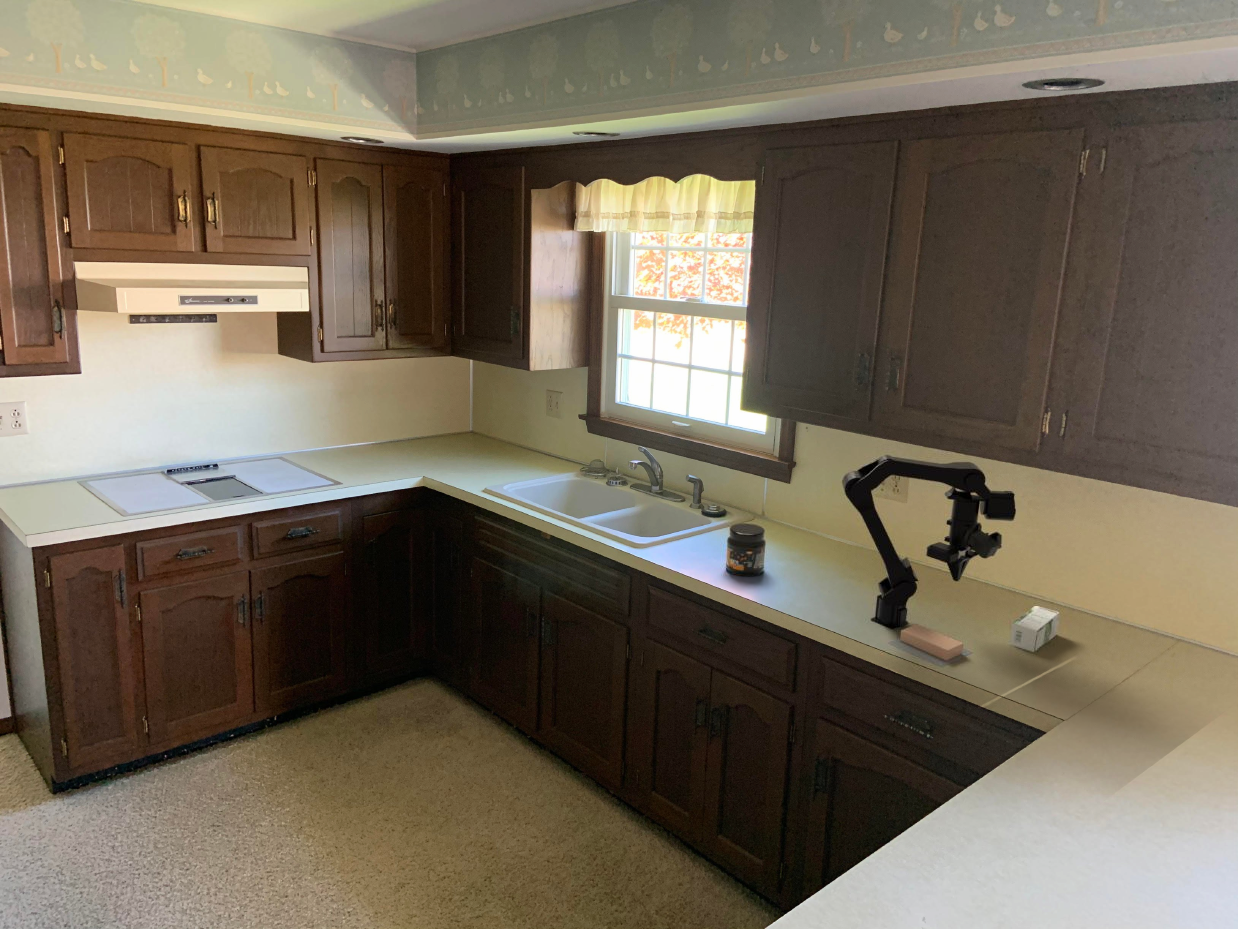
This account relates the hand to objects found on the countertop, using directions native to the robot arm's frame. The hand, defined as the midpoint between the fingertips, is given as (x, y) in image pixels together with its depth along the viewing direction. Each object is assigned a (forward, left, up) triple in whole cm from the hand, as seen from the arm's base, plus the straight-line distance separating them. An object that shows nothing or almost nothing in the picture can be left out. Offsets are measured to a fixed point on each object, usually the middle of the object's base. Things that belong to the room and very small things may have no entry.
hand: (956, 580), depth 212 cm
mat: (+4, -14, -12) cm, 19 cm away
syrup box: (+16, +3, -9) cm, 19 cm away
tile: (+4, -11, -10) cm, 15 cm away
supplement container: (-54, -15, -12) cm, 57 cm away
